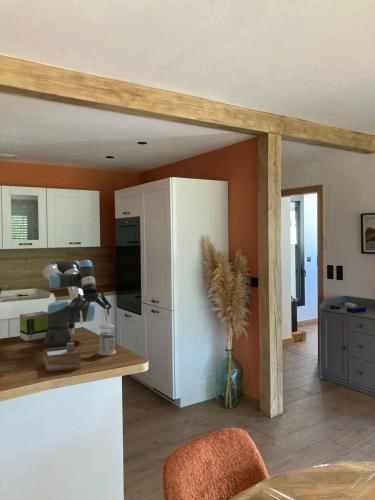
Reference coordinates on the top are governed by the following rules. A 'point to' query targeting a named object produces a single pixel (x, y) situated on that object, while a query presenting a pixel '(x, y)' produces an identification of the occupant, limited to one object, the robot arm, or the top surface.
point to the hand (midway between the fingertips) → (94, 322)
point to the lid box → (61, 360)
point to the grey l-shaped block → (69, 350)
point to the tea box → (33, 325)
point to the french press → (106, 340)
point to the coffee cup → (71, 328)
